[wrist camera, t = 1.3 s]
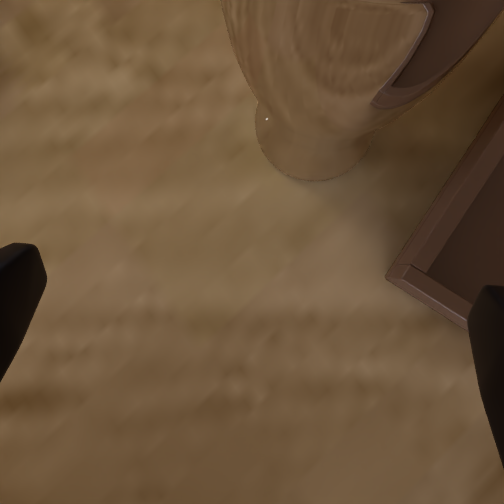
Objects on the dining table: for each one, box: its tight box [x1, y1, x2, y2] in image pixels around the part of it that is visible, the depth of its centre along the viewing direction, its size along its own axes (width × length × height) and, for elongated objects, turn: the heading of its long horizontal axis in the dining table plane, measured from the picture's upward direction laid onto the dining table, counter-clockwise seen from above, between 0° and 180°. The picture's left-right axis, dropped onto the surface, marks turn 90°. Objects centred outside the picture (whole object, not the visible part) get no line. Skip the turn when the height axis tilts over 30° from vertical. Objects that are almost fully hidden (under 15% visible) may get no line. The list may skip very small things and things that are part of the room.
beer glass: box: [220, 0, 504, 181], centre depth 14 cm, size 7×7×15 cm
